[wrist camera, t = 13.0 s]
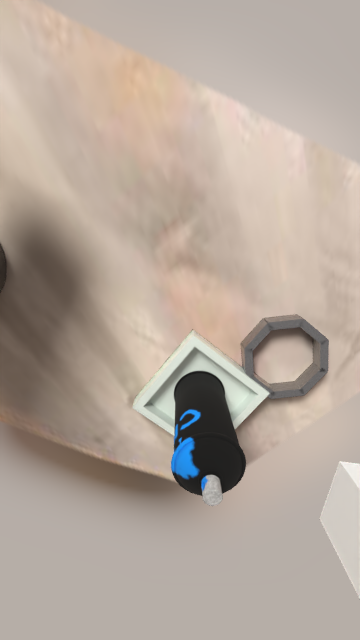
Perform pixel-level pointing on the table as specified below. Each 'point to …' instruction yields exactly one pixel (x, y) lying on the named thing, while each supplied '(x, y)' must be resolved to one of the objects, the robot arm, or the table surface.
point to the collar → (308, 376)
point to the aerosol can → (205, 438)
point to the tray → (198, 357)
